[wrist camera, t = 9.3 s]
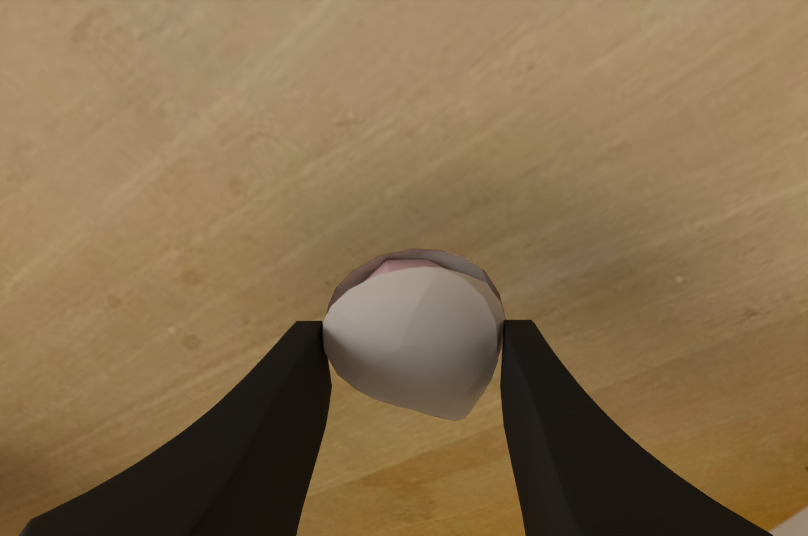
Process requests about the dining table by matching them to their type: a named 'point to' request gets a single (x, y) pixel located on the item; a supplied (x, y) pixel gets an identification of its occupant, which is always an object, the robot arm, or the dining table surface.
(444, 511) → the dining table surface
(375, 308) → the beige rounded teardrop
